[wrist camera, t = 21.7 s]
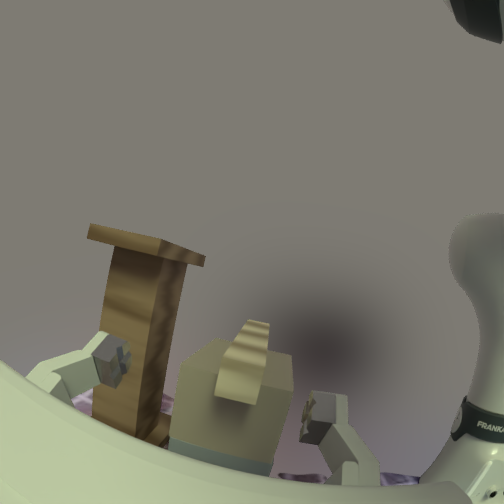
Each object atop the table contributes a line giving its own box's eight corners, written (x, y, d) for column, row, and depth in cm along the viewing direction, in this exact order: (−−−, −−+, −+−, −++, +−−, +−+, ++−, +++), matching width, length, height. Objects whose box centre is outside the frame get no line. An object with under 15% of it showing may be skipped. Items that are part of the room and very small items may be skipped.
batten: (255, 405, 19) (265, 366, 20) (213, 395, 20) (222, 356, 20) (264, 344, 41) (269, 323, 41) (243, 339, 41) (248, 319, 42)
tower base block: (254, 515, 22) (273, 463, 23) (162, 490, 23) (169, 437, 24) (261, 454, 36) (275, 408, 37) (194, 437, 37) (203, 391, 38)
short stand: (134, 482, 23) (171, 241, 25) (61, 444, 24) (83, 221, 26) (178, 426, 39) (212, 257, 41) (120, 404, 40) (147, 243, 42)
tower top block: (271, 463, 23) (293, 391, 23) (168, 436, 24) (180, 363, 25) (276, 409, 37) (291, 355, 37) (204, 391, 38) (216, 337, 39)
